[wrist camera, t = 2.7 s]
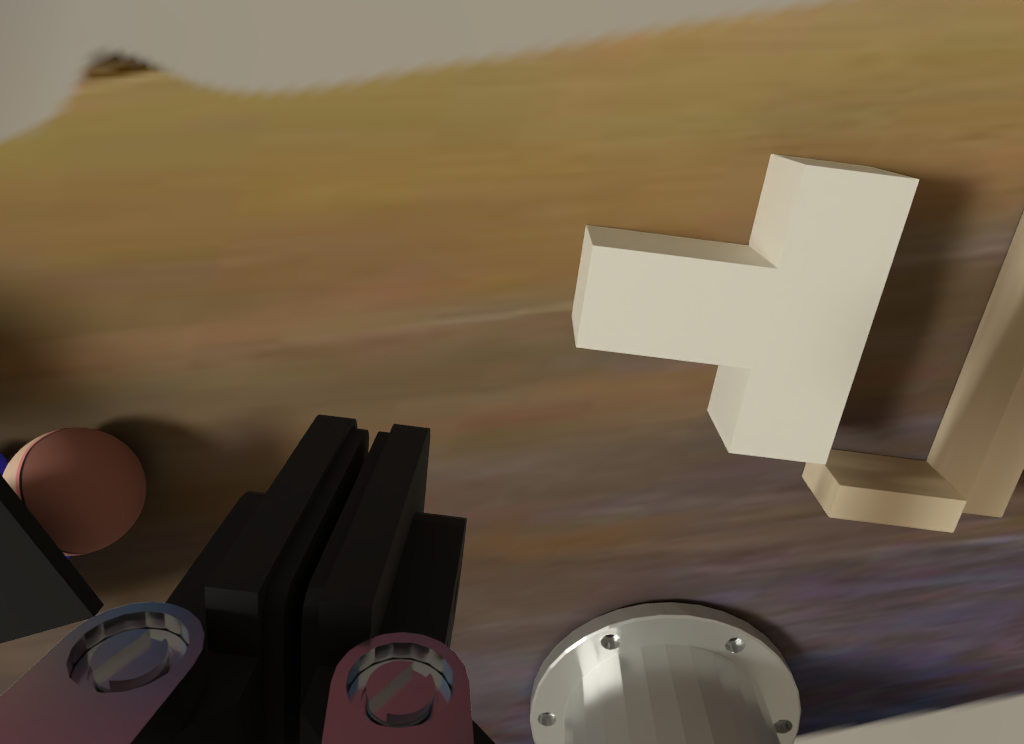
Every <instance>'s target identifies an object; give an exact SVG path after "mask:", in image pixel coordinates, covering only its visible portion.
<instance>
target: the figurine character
mask: <svg viewBox="0 0 1024 744" xmlns="http://www.w3.org/2000/svg"><path fill="white" fill-rule="evenodd" d="M145 498H146V478H145V474H144V470H143V468H142V465H141V463H140V461H139V460H138V458H137V456H136V455H135V454H134V452H133V451H132V450H131V449H130V448H129V447H128V446H127V445H126V444H124V443H123V442H122V441H120V440H119V439H117V438H116V437H114V436H112V435H110V434H107V433H105V432H102V431H99V430H95V429H89V428H65V429H60V430H55V431H52V432H49V433H46V434H44V435H42V436H39V437H37V438H35V439H34V440H32V441H31V442H29V443H28V444H26V445H25V446H24V447H22V448H21V449H20V450H19V451H18V452H17V453H16V454H15V455H14V457H13V458H12V459H11V461H10V462H9V463H7V460H6V458H5V457H4V456H3V455H2V454H1V453H0V643H4V642H7V641H11V640H14V639H18V638H21V637H25V636H29V635H32V634H36V633H39V632H43V631H46V630H50V629H54V628H57V627H61V626H64V625H68V624H71V623H75V622H79V621H82V620H86V619H89V618H92V617H94V616H95V615H96V614H97V613H98V612H99V610H100V609H101V608H102V607H103V605H104V604H103V603H102V602H101V601H100V599H99V598H98V597H97V595H96V594H95V593H94V592H93V590H92V589H91V588H90V587H89V585H88V584H87V583H86V582H85V580H84V579H83V578H82V576H81V575H80V574H79V573H78V571H77V570H76V569H75V568H74V566H73V565H72V564H71V563H70V561H69V560H68V559H69V558H70V556H75V555H83V554H88V553H91V552H95V551H98V550H100V549H103V548H105V547H107V546H109V545H110V544H112V543H114V542H115V541H117V540H118V539H119V538H121V537H122V536H123V535H124V534H126V533H127V531H128V530H129V529H130V528H131V527H132V526H133V525H134V523H135V522H136V520H137V519H138V517H139V515H140V513H141V511H142V509H143V506H144V502H145Z"/></svg>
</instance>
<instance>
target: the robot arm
mask: <svg viewBox="0 0 1024 744" xmlns="http://www.w3.org/2000/svg"><path fill="white" fill-rule="evenodd" d="M429 445H430V428H423V427H415V426H407V425H399V424H394V425H393V427H392V429H391V431H390V433H388V432H378V434H377V436H376V438H375V440H374V442H373V444H372V447H371V449H370V451H369V453H368V447H369V432H368V430H364V429H357V421H356V419H351V418H343V417H335V416H327V415H318V416H317V417H316V418H315V420H314V421H313V423H312V424H311V426H310V427H309V429H308V430H307V432H306V433H305V435H304V436H303V438H302V439H301V441H300V442H299V444H298V445H297V447H296V448H295V450H294V451H293V453H292V455H291V456H290V458H289V459H288V461H287V462H286V464H285V465H284V467H283V468H282V470H281V471H280V473H279V474H278V476H277V477H276V479H275V480H274V482H273V483H272V485H271V486H270V488H269V489H268V491H267V492H266V493H260V492H252V491H250V492H246V493H245V494H244V495H243V496H242V497H241V498H240V499H239V500H238V502H237V503H236V505H235V506H234V507H233V509H232V510H231V512H230V513H229V514H228V516H227V517H226V519H225V520H224V521H223V523H222V524H221V526H220V527H219V529H218V530H217V531H216V533H215V534H214V536H213V537H212V538H211V540H210V541H209V543H208V544H207V545H206V547H205V548H204V550H203V551H202V552H201V554H200V555H199V557H198V558H197V559H196V561H195V562H194V564H193V565H192V566H191V568H190V569H189V571H188V572H187V573H186V575H185V576H184V578H183V579H182V580H181V582H180V583H179V585H178V586H177V587H176V589H175V590H174V592H173V593H172V594H171V596H170V597H169V599H168V600H167V601H166V603H159V602H144V603H133V604H128V605H124V606H121V607H117V608H113V609H110V610H107V611H105V612H103V613H100V614H98V615H96V616H94V617H92V618H90V619H88V620H86V621H85V622H83V623H82V624H80V625H79V626H78V627H76V628H75V629H74V630H72V631H71V632H70V633H68V634H67V635H66V636H65V637H64V638H63V639H62V640H61V641H59V642H58V643H57V644H56V645H55V646H54V647H53V648H52V649H51V650H50V651H49V652H48V653H46V654H45V655H44V656H43V657H42V658H41V659H40V660H39V661H38V662H37V663H36V664H35V665H33V666H32V667H31V668H30V669H29V670H28V671H27V672H26V673H25V674H24V675H23V676H22V677H20V678H19V679H18V680H17V681H16V682H15V683H14V684H13V685H12V686H11V687H10V688H9V689H7V690H6V691H5V692H4V693H3V694H2V695H1V696H0V744H495V743H494V742H493V741H492V740H491V739H490V738H489V737H488V736H487V735H486V733H485V732H484V731H483V730H482V729H481V728H480V727H479V726H478V725H477V724H476V723H475V722H474V721H473V720H472V711H471V697H470V683H469V679H468V675H467V671H466V668H465V665H464V664H463V663H462V661H461V660H460V658H459V657H458V656H457V654H456V653H455V652H454V651H453V650H451V649H450V643H451V637H452V630H453V624H454V618H455V611H456V604H457V597H458V590H459V582H460V574H461V566H462V558H463V549H464V541H465V532H466V522H467V518H462V517H454V516H446V515H438V514H429V513H424V502H425V491H426V479H427V468H428V456H429ZM800 715H801V706H800V698H799V691H798V689H797V686H796V683H795V681H794V678H793V676H792V673H791V671H790V668H789V666H788V665H787V663H786V661H785V659H784V658H783V656H782V654H781V652H780V651H779V650H778V649H777V647H776V646H775V645H774V644H773V643H772V642H771V641H770V640H769V639H768V638H767V637H766V635H764V634H763V633H761V632H760V631H759V630H757V629H756V628H754V627H753V626H752V625H750V624H749V623H747V622H746V621H743V620H741V619H739V618H737V617H735V616H733V615H730V614H728V613H726V612H724V611H720V610H716V609H712V608H709V607H705V606H701V605H695V604H685V603H675V602H667V603H647V604H641V605H636V606H631V607H626V608H622V609H618V610H615V611H613V612H610V613H607V614H604V615H602V616H599V617H596V618H594V619H593V620H591V621H589V622H587V623H586V624H584V625H582V626H580V627H579V628H577V629H575V630H574V631H572V632H571V633H570V634H569V635H568V636H567V637H565V638H564V639H563V640H562V641H561V642H559V643H558V644H557V645H556V646H555V647H554V649H553V650H552V651H551V653H550V654H549V655H548V656H547V658H546V659H545V660H544V661H543V663H542V665H541V667H540V669H539V672H538V674H537V676H536V678H535V680H534V685H533V689H532V694H531V703H530V723H531V729H532V734H533V740H534V742H535V744H793V742H794V740H795V737H796V735H797V732H798V730H799V722H800Z"/></svg>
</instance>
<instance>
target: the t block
mask: <svg viewBox="0 0 1024 744" xmlns="http://www.w3.org/2000/svg"><path fill="white" fill-rule="evenodd" d="M918 183H919V179H916V178H912V177H909V176H905V175H901V174H897V173H893V172H890V171H886V170H882V169H878V168H874V167H870V166H863V165H855V164H847V163H840V162H832V161H824V160H816V159H809V158H801V157H793V156H785V155H777V154H771V157H770V161H769V165H768V169H767V173H766V177H765V181H764V185H763V189H762V193H761V197H760V201H759V205H758V209H757V213H756V217H755V221H754V225H753V229H752V233H751V237H750V241H749V245H741V244H734V243H726V242H718V241H710V240H702V239H694V238H686V237H678V236H670V235H663V234H655V233H647V232H639V231H631V230H623V229H615V228H607V227H600V226H592V225H586V229H585V235H584V242H583V248H582V254H581V260H580V267H579V273H578V279H577V286H576V292H575V298H574V304H573V311H572V321H573V328H574V335H575V343H576V347H579V348H587V349H595V350H603V351H611V352H619V353H627V354H635V355H643V356H651V357H659V358H667V359H675V360H683V361H691V362H699V363H707V364H715V365H719V366H718V370H717V374H716V378H715V382H714V386H713V390H712V394H711V398H710V402H709V406H708V410H707V411H708V413H709V415H710V417H711V419H712V421H713V423H714V425H715V427H716V429H717V430H718V432H719V434H720V436H721V438H722V440H723V442H724V444H725V446H726V448H727V450H728V452H729V453H736V454H744V455H752V456H760V457H768V458H776V459H785V460H793V461H801V462H809V463H817V464H825V465H826V461H827V458H828V455H829V452H830V449H831V446H832V443H833V440H834V437H835V434H836V431H837V428H838V425H839V422H840V419H841V416H842V413H843V410H844V407H845V404H846V401H847V398H848V395H849V392H850V389H851V386H852V383H853V380H854V377H855V374H856V371H857V367H858V364H859V361H860V358H861V355H862V352H863V349H864V346H865V343H866V340H867V337H868V334H869V331H870V328H871V325H872V322H873V319H874V316H875V313H876V310H877V307H878V304H879V301H880V298H881V295H882V292H883V289H884V286H885V283H886V280H887V277H888V273H889V270H890V267H891V264H892V261H893V258H894V255H895V252H896V249H897V246H898V243H899V240H900V237H901V234H902V231H903V228H904V225H905V222H906V219H907V216H908V213H909V210H910V207H911V204H912V201H913V198H914V195H915V192H916V189H917V186H918Z"/></svg>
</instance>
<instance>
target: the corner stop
mask: <svg viewBox="0 0 1024 744" xmlns="http://www.w3.org/2000/svg"><path fill="white" fill-rule="evenodd" d="M1023 469H1024V212H1023V214H1022V217H1021V219H1020V222H1019V225H1018V227H1017V230H1016V232H1015V235H1014V237H1013V240H1012V242H1011V245H1010V248H1009V250H1008V253H1007V255H1006V258H1005V260H1004V263H1003V266H1002V268H1001V271H1000V273H999V276H998V278H997V281H996V283H995V286H994V289H993V291H992V294H991V296H990V299H989V301H988V304H987V307H986V309H985V312H984V314H983V317H982V319H981V322H980V324H979V327H978V330H977V332H976V335H975V337H974V340H973V342H972V345H971V347H970V350H969V353H968V355H967V358H966V360H965V363H964V365H963V368H962V371H961V373H960V376H959V378H958V381H957V383H956V386H955V388H954V391H953V394H952V396H951V399H950V401H949V404H948V406H947V409H946V412H945V414H944V417H943V419H942V422H941V424H940V427H939V429H938V432H937V435H936V437H935V440H934V442H933V445H932V447H931V450H930V453H929V455H928V458H927V460H926V461H922V460H914V459H906V458H898V457H890V456H882V455H874V454H866V453H858V452H850V451H842V450H834V449H830V452H829V455H828V458H827V461H826V465H825V464H817V463H809V462H806V465H805V468H804V471H803V474H802V477H803V479H804V480H805V482H806V483H807V485H808V486H809V488H810V489H811V491H812V492H813V494H814V495H815V497H816V498H817V500H818V501H819V503H820V504H821V506H822V507H823V509H824V511H825V512H826V514H827V515H828V517H831V518H839V519H848V520H856V521H864V522H872V523H880V524H888V525H896V526H904V527H912V528H920V529H928V530H936V531H945V532H954V530H955V527H956V525H957V523H958V520H959V518H960V516H961V513H970V514H978V515H986V516H994V517H1002V515H1003V513H1004V511H1005V509H1006V507H1007V504H1008V502H1009V500H1010V498H1011V495H1012V493H1013V491H1014V489H1015V487H1016V484H1017V482H1018V480H1019V478H1020V476H1021V473H1022V471H1023Z"/></svg>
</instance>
